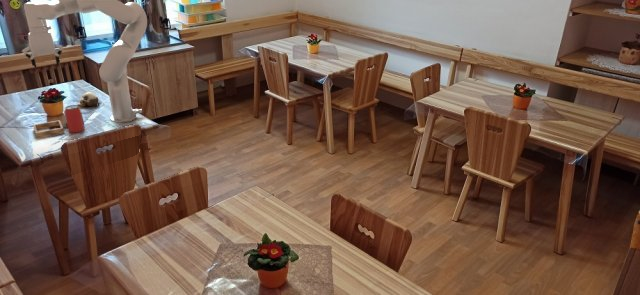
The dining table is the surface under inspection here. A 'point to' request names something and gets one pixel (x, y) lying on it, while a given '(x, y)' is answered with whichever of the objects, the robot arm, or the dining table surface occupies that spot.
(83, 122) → the brown square pot
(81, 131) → the coaster
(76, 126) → the beer can
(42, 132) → the tray
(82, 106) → the skull
